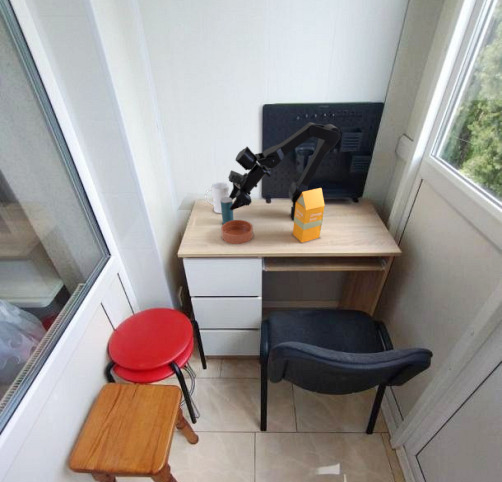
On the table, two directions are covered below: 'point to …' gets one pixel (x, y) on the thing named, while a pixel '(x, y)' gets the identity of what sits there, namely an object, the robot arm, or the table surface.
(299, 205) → the orange juice
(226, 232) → the pot
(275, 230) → the table surface
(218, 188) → the mug
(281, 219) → the table surface
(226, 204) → the can
